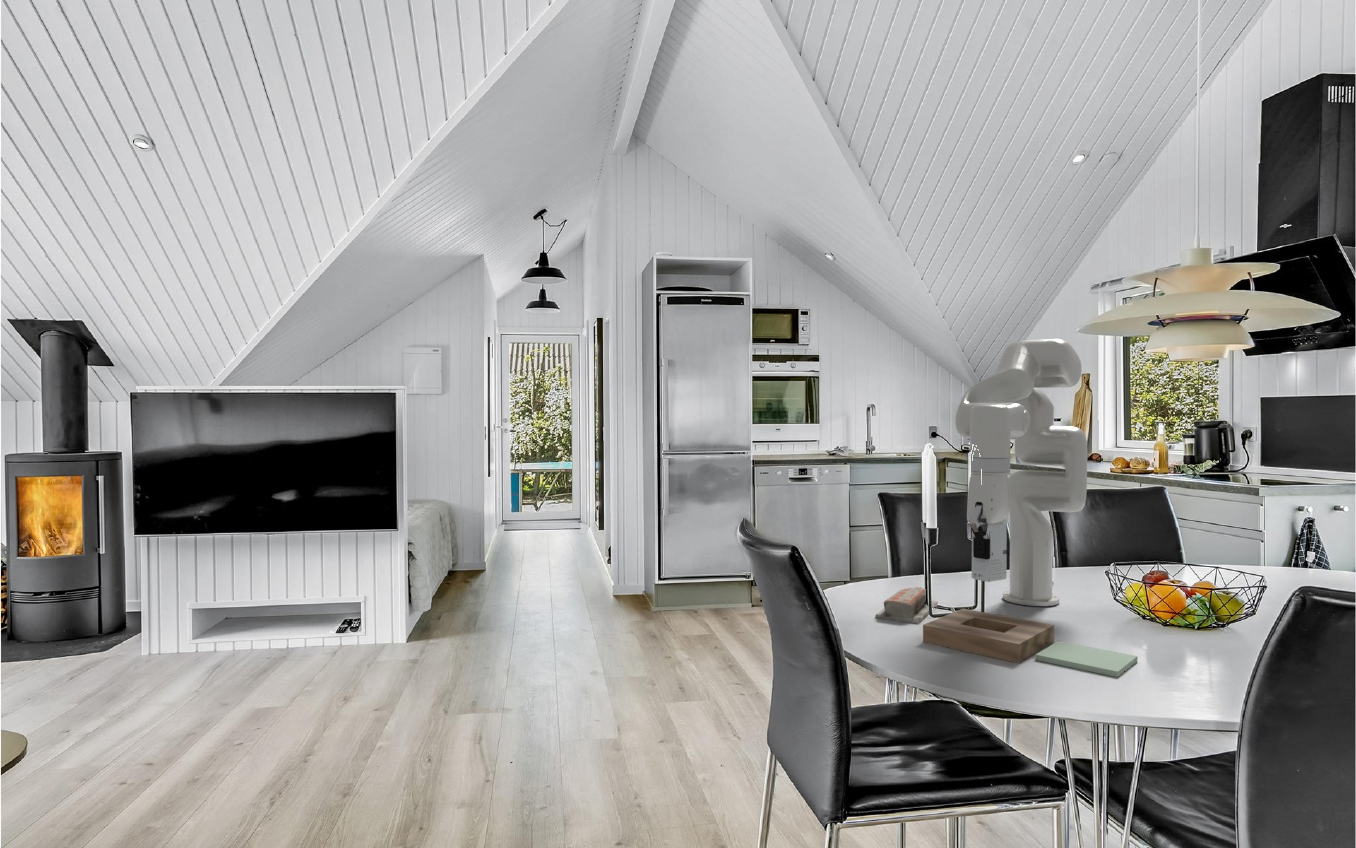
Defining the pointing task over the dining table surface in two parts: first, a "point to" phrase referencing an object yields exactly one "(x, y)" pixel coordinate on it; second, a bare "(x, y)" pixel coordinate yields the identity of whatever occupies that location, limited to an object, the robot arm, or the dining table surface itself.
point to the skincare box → (992, 555)
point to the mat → (1087, 658)
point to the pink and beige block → (906, 606)
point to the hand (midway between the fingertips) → (989, 554)
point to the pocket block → (989, 634)
